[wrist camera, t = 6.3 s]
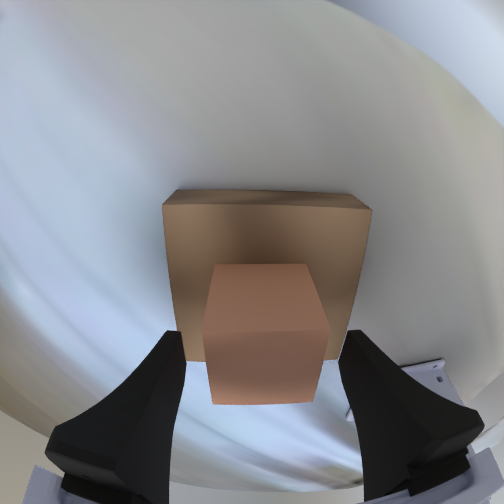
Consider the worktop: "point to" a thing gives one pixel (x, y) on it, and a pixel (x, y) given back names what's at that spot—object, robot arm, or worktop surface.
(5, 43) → the worktop surface
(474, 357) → the worktop surface
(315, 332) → the terracotta cube
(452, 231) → the worktop surface
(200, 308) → the walnut block
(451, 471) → the robot arm
